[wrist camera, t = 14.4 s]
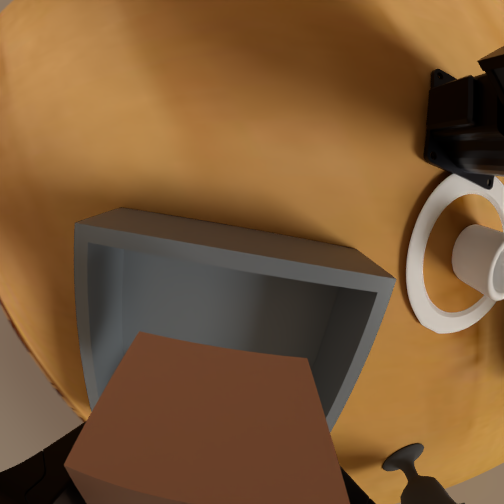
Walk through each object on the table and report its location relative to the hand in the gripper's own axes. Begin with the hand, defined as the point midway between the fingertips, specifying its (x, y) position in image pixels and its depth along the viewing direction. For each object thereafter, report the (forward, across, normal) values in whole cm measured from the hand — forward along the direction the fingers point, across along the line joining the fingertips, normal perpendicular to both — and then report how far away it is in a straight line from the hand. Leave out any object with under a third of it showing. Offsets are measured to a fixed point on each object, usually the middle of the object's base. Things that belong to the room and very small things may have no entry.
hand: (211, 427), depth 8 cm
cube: (+1, 0, 0) cm, 1 cm away
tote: (+9, 0, +4) cm, 10 cm away
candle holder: (+10, -16, -6) cm, 20 cm away
